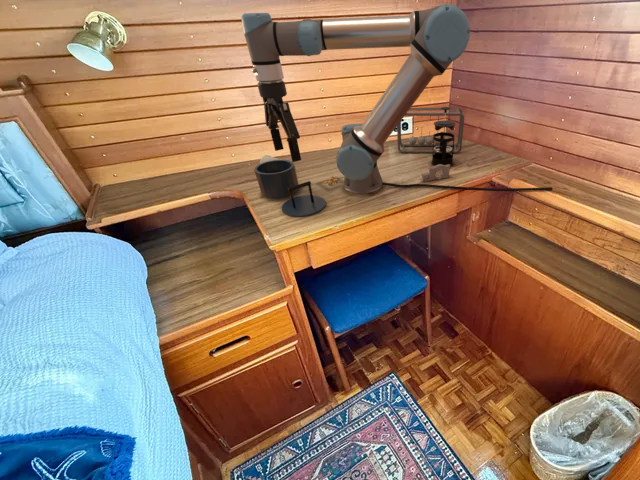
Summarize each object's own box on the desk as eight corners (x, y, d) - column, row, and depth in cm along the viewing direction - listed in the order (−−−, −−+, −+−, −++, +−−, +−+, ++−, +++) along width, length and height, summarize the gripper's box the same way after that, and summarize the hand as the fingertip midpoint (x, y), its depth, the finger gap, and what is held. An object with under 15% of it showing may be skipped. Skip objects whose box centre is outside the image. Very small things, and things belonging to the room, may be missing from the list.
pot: (306, 192, 125) (300, 166, 119) (270, 204, 118) (263, 177, 112) (290, 181, 134) (284, 156, 127) (256, 191, 127) (248, 166, 120)
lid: (333, 208, 115) (330, 184, 109) (294, 223, 107) (288, 198, 102) (313, 194, 124) (308, 171, 118) (275, 207, 116) (268, 183, 111)
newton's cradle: (397, 153, 157) (396, 113, 146) (399, 145, 165) (398, 107, 154) (460, 153, 155) (464, 113, 144) (459, 146, 163) (462, 107, 152)
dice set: (333, 180, 134) (333, 175, 133) (340, 183, 131) (340, 179, 130) (322, 183, 131) (322, 179, 130) (329, 187, 128) (329, 183, 127)
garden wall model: (422, 182, 131) (423, 167, 127) (420, 180, 132) (421, 166, 128) (449, 177, 134) (450, 163, 130) (447, 175, 135) (448, 161, 131)
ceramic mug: (276, 180, 135) (271, 161, 130) (261, 176, 138) (256, 158, 133) (294, 171, 142) (290, 153, 137) (280, 168, 145) (276, 150, 140)
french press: (454, 167, 142) (459, 110, 127) (432, 168, 142) (434, 110, 128) (451, 158, 151) (455, 103, 137) (430, 158, 151) (432, 103, 137)
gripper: (242, 77, 100) (262, 148, 113) (275, 89, 84) (293, 169, 97) (266, 74, 103) (283, 143, 116) (302, 85, 88) (316, 162, 101)
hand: (287, 155), depth 107 cm, fingers open, 13 cm apart
